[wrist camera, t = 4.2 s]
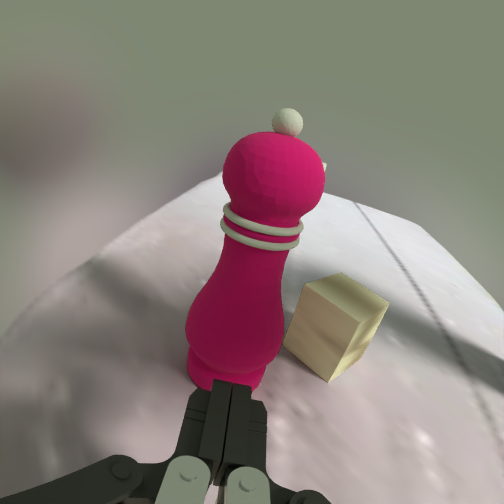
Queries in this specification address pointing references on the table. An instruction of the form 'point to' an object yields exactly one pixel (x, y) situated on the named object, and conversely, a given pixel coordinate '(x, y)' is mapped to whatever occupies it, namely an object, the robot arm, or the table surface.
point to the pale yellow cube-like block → (333, 324)
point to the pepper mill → (253, 254)
